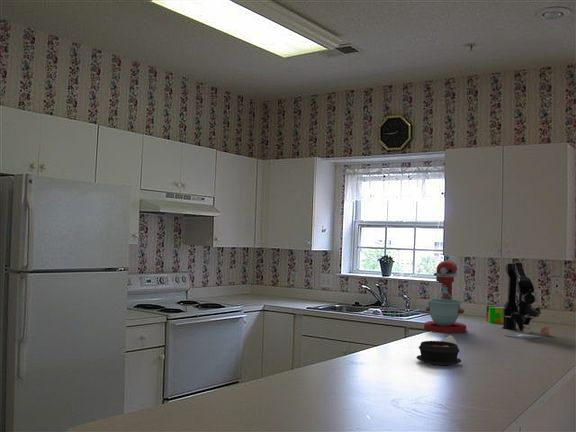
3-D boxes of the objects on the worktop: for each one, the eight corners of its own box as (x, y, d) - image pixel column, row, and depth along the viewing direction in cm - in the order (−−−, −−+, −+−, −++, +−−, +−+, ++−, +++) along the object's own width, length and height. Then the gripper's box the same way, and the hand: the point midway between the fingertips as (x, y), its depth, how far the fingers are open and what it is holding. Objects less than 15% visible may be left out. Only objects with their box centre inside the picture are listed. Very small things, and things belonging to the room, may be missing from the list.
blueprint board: (504, 335, 343) (504, 335, 343) (518, 333, 354) (518, 332, 354) (528, 339, 333) (528, 338, 333) (542, 337, 343) (542, 336, 343)
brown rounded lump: (538, 335, 350) (539, 326, 350) (542, 334, 353) (542, 325, 353) (546, 336, 346) (547, 327, 346) (550, 335, 349) (550, 326, 349)
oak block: (517, 332, 343) (517, 324, 343) (521, 331, 347) (521, 324, 347) (525, 333, 340) (526, 326, 340) (530, 332, 343) (530, 325, 343)
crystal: (452, 350, 272) (463, 342, 294) (438, 340, 275) (450, 333, 297) (443, 363, 274) (454, 355, 295) (430, 353, 277) (441, 346, 298)
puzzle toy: (501, 321, 405) (502, 306, 406) (505, 323, 395) (506, 308, 396) (486, 320, 406) (486, 305, 407) (489, 323, 396) (490, 307, 397)
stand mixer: (420, 331, 349) (421, 260, 351) (427, 324, 379) (429, 259, 380) (463, 335, 341) (465, 262, 342) (468, 327, 370) (469, 261, 372)
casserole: (461, 371, 245) (462, 350, 246) (414, 367, 250) (414, 346, 251) (461, 360, 270) (461, 340, 270) (418, 356, 275) (418, 337, 275)
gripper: (530, 304, 331) (529, 333, 331) (546, 303, 344) (545, 331, 344) (510, 302, 340) (510, 331, 339) (526, 301, 352) (526, 328, 352)
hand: (523, 330), depth 343 cm, fingers closed on oak block, 5 cm apart
